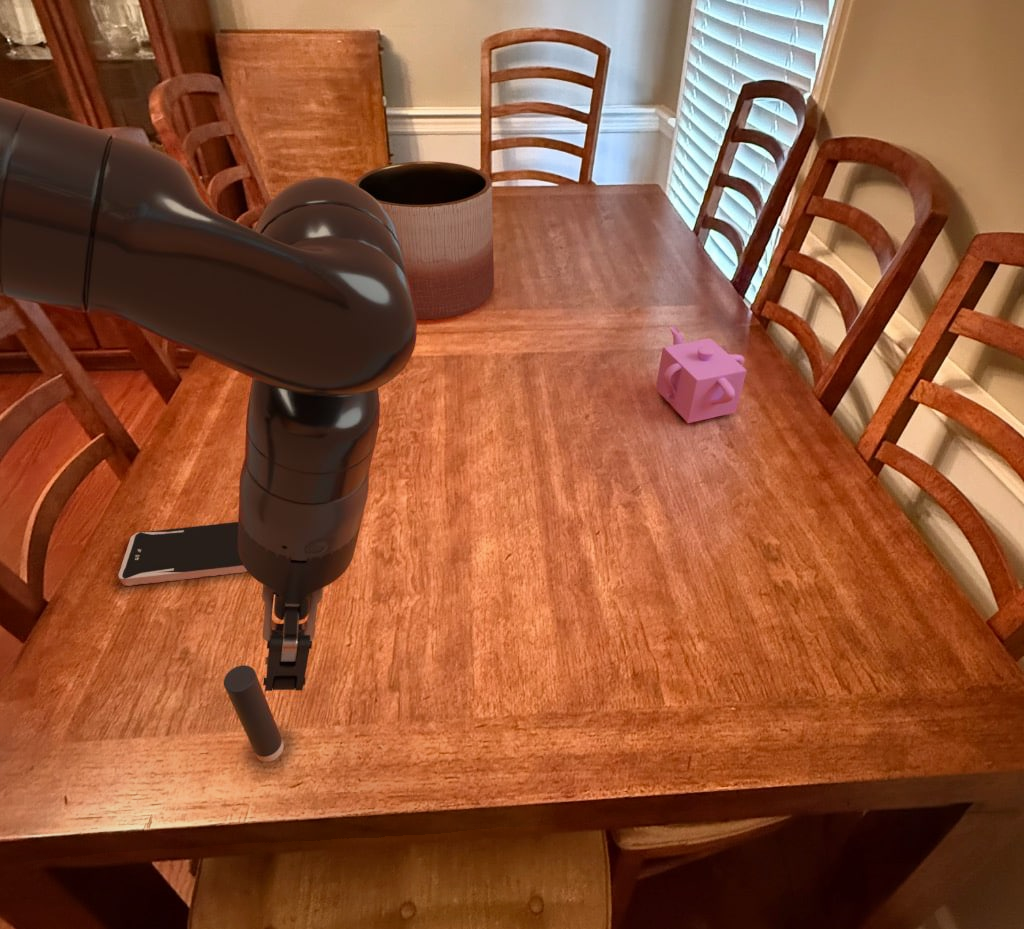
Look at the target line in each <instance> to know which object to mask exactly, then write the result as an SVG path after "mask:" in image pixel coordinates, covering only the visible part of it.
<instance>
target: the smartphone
mask: <svg viewBox="0 0 1024 929" xmlns="http://www.w3.org/2000/svg"><path fill="white" fill-rule="evenodd" d="M243 573H249V572H248V571H247V570H246V569H245V567H244V565H243V564H242V562H241V559H240V557H239V553H238V521H234V522H225V523H215V524H214V523H213V524H205V525H197V526H187V527H179V528H177V527H176V528H167V529H161V530H160V529H159V530H150V531H141V532H136V533H134V534H133V535H131V537H130V539H129V541H128V545H127V547H126V550H125V553H124V557H123V560H122V562H121V566H120V569H119V572H118V574H117V575H118V578H119V580H120V583H121V584H122V585H123V586H125V587H129V586H130V587H131V586H139V585H146V584H147V585H148V584H157V583H164V582H165V583H166V582H173V581H181V580H190V579H199V578H200V579H201V578H207V577H215V576H216V577H217V576H224V575H233V574H243Z"/></svg>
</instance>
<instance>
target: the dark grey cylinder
mask: <svg viewBox="0 0 1024 929" xmlns="http://www.w3.org/2000/svg"><path fill="white" fill-rule="evenodd" d="M223 686H224V689H225V691H226V694H227V695H228V697H229V700H230V702H231V704H232V706H233V708H234V711H235V713H236V715H237V717H238V719H239V722H240V724H241V726H242V728H243V731H244V732H245V734H246V737H247V740H248V741H249V743H250V745H251V748H252V750H253V752H254V755H255V756H256V758H257V760H258V761H260V762H263V763H270V762H272V761H275V760H277V759H278V758H279V757H280V756H281V755H282V753H283V751H284V748H285V743H284V740H283V738H282V735H281V732H280V730H279V727H278V725H277V723H276V720H275V718H274V715H273V713H272V711H271V707H270V705H269V703H268V700H267V697H266V695H265V693H264V690H263V688H262V686H261V682H260V681H259V678H258V675H257V673H256V671H255V669H254V668H253V667H252V666H250V665H238V666H235V667H233V668H232V669H230V670H229V671H228V672H227V673H226V674H225V676H224V679H223Z"/></svg>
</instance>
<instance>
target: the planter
mask: <svg viewBox="0 0 1024 929" xmlns="http://www.w3.org/2000/svg"><path fill="white" fill-rule="evenodd" d="M353 184H354V185H356V186H358V187H360V188H361V189H363V190H364V191H366V192H367V193H368V194H370V195H371V196H372V197H373V198H374V199H376V200H377V201H378V203H379V204H380V205H381V206H382V207H383V208H384V210H385V211H386V213H387V214H388V216H389V217H390V219H391V221H392V223H393V225H394V227H395V229H396V231H397V234H398V237H399V240H400V244H401V248H402V253H403V257H404V262H405V267H406V271H407V276H408V281H409V286H410V289H411V293H412V298H413V302H414V307H415V312H416V319H417V321H438V320H439V321H440V320H447V319H452V318H455V317H459V316H463V315H466V314H469V313H470V312H472V311H475V310H477V309H478V308H480V307H481V306H483V305H484V304H485V303H487V302H488V300H489V299H490V298H491V297H492V295H493V292H494V285H495V265H494V264H495V263H494V262H495V260H494V228H493V227H494V225H493V222H494V221H493V182H492V179H491V178H490V176H488V174H487V173H485V172H484V171H481V170H479V169H478V168H474V167H472V166H469V165H464V164H460V163H454V162H446V161H434V160H433V161H429V160H428V161H426V160H425V161H407V162H406V161H405V162H399V163H398V162H397V163H393V164H387V165H383V166H380V167H377V168H373V169H371V170H368V171H365V172H364V173H363V174H361V175H360V176H358V177H357V178H356V179H355V180H354V182H353Z"/></svg>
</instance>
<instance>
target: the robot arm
mask: <svg viewBox="0 0 1024 929" xmlns="http://www.w3.org/2000/svg"><path fill="white" fill-rule="evenodd" d="M0 296H3V297H7V298H10V299H15V300H21V301H26V302H30V303H35V304H40V305H43V306H49V307H53V308H58V309H63V310H67V311H73V312H77V313H82V314H84V313H86V312H87V313H88V314H89V315H92V316H97V317H103V318H108V319H116V320H121V321H124V322H127V323H130V324H132V325H134V326H136V327H139V328H141V329H142V330H145V331H146V332H147V331H148V332H149V333H150V334H153V335H156V336H157V337H160V338H161V339H164V340H166V341H167V342H169V343H172V344H173V345H176V346H177V347H179V348H182V349H184V350H187V351H189V352H191V353H194V354H196V355H199V356H200V357H202V358H203V357H204V358H206V359H207V360H211V361H213V362H215V363H217V364H220V365H222V366H224V367H226V368H229V369H230V370H233V371H235V372H237V373H240V374H242V375H244V376H247V377H249V378H251V385H250V391H249V397H248V403H247V409H246V421H245V441H244V442H245V443H244V459H243V463H242V466H241V470H240V475H239V483H238V484H239V486H238V489H239V491H238V514H237V517H238V519H237V522H238V553H239V557H240V559H241V562H242V564H243V565H244V567H245V569H246V570H247V571H248V572H247V573H248V574H249V575H250V576H251V577H252V578H253V579H255V580H256V581H257V582H259V583H260V584H262V593H261V599H262V601H263V602H264V612H263V625H262V634H261V635H262V638H263V640H264V641H265V642H267V643H266V649H268V652H267V656H266V657H265V661H264V665H265V666H266V675H265V677H263V682H262V684H263V686H265V687H264V691H265V692H273V691H303V688H304V686H305V685H306V679H307V678H306V672H307V667H308V661H309V655H310V650H311V649H313V648H312V647H313V639H314V638H315V631H316V620H317V612H318V604H319V603H321V601H322V599H323V590H324V588H325V587H328V586H329V585H331V584H333V583H334V582H336V581H338V579H340V577H342V575H343V574H344V573H345V572H347V570H348V568H349V567H350V565H351V563H352V561H353V558H354V555H355V550H356V547H357V542H358V538H359V533H360V530H361V525H362V521H363V517H364V513H365V509H366V504H367V500H368V495H369V485H370V478H369V477H370V469H371V466H372V465H371V464H372V460H373V456H374V453H375V452H374V451H375V447H376V443H377V440H378V432H379V428H380V415H381V413H380V412H381V406H380V404H381V403H380V393H379V388H380V387H383V386H385V385H387V384H388V383H389V382H391V381H392V380H394V379H395V378H396V377H398V375H399V374H401V372H403V370H404V369H405V368H406V367H407V365H408V363H409V361H410V359H411V358H412V355H413V353H414V350H415V347H416V344H417V335H418V320H417V319H416V312H415V307H414V302H413V298H412V293H411V289H410V286H409V281H408V276H407V271H406V267H405V262H404V257H403V253H402V248H401V244H400V240H399V237H398V234H397V231H396V229H395V227H394V225H393V223H392V221H391V219H390V217H389V216H388V214H387V213H386V211H385V210H384V208H383V207H382V206H381V205H380V204H379V203H378V201H377V200H376V199H374V198H373V197H372V196H371V195H370V194H368V193H367V192H366V191H364V190H363V189H361V188H360V187H358V186H356V185H354V183H352V182H350V181H347V180H344V179H340V178H336V177H329V176H316V177H310V178H305V179H302V180H299V181H296V182H295V183H292V184H290V185H288V186H286V187H285V188H284V189H282V190H281V191H279V193H276V195H275V196H274V197H273V198H272V199H271V200H270V202H268V203H267V205H266V206H265V208H264V209H263V211H262V212H261V214H260V216H259V218H258V220H257V222H256V225H255V228H254V229H253V228H251V227H248V226H246V225H244V224H242V223H240V222H238V221H235V220H233V219H231V218H229V217H227V216H225V215H223V214H220V213H219V212H217V211H214V210H213V209H212V208H211V207H210V206H209V205H208V204H207V203H206V202H205V201H204V199H203V198H202V196H201V194H200V192H199V190H198V187H197V184H196V183H195V181H194V179H193V177H192V175H191V173H190V172H189V170H188V169H187V168H186V167H185V166H184V165H183V163H181V162H180V161H178V160H177V159H176V158H174V157H173V156H172V155H169V154H167V153H165V152H163V151H161V150H160V149H159V150H158V149H157V148H155V147H152V146H149V145H147V144H144V143H142V142H139V141H136V140H134V139H130V138H127V137H123V136H121V135H117V134H115V135H112V133H111V132H110V131H106V130H103V129H100V128H97V127H93V126H92V125H87V124H84V123H82V122H78V121H75V120H72V119H69V118H66V117H63V116H61V115H57V114H54V113H51V112H47V111H45V110H43V109H42V110H41V109H38V108H35V107H31V106H29V105H26V104H23V103H19V102H16V101H13V100H10V99H6V98H4V97H0ZM273 611H274V612H273ZM273 614H274V616H275V617H276V618H277V619H278V620H280V621H283V623H279V622H276V621H274V620H273ZM305 619H306V620H305ZM302 620H305V621H304V622H302V623H299V622H300V621H302Z"/></svg>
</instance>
